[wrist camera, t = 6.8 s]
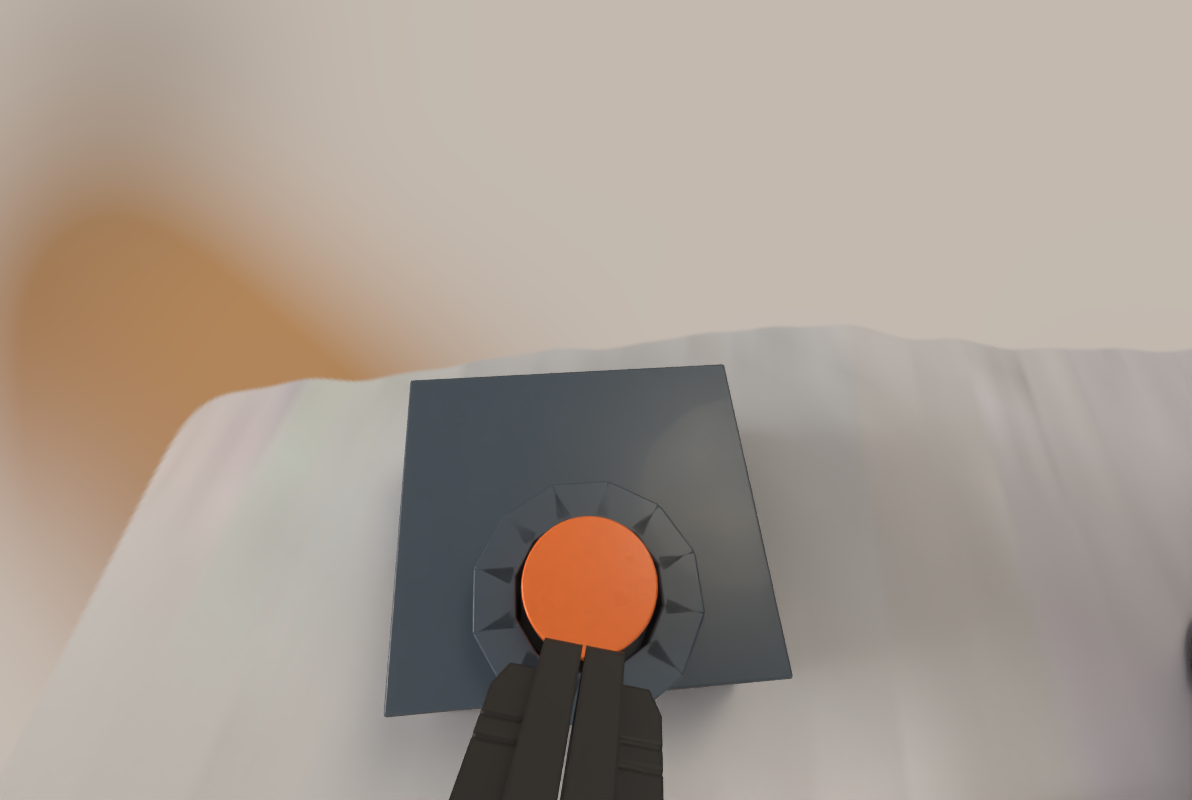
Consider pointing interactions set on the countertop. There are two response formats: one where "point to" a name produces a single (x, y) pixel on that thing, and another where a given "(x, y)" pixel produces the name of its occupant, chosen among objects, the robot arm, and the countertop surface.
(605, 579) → the button
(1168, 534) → the countertop surface
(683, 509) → the grey button base
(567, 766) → the robot arm
